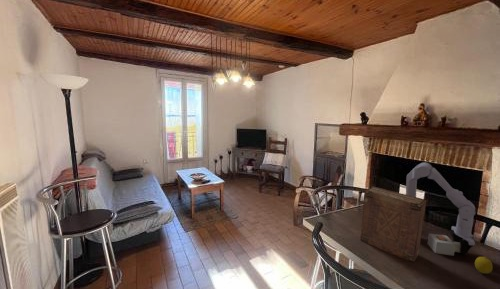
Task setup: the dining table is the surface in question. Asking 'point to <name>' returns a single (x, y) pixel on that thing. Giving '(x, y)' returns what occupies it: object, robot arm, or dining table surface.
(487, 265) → the lemon
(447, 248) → the housing
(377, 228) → the book
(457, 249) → the block
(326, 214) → the dining table surface
